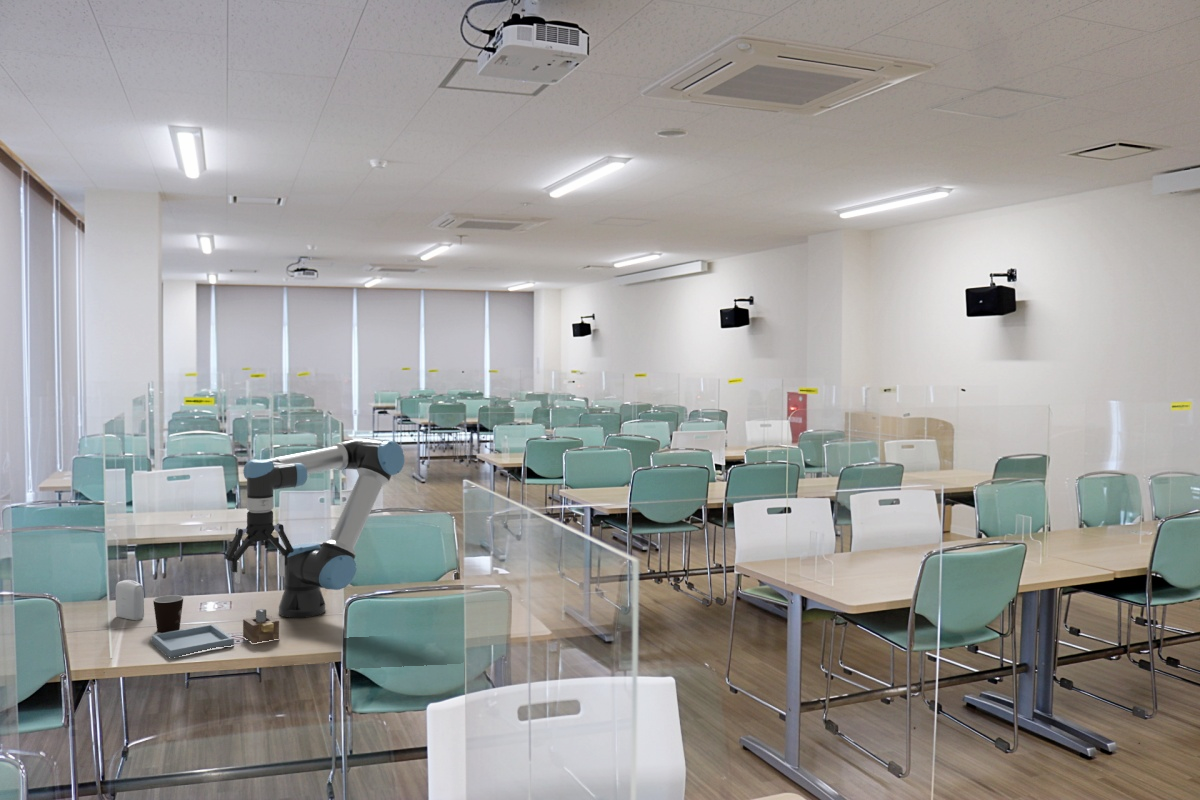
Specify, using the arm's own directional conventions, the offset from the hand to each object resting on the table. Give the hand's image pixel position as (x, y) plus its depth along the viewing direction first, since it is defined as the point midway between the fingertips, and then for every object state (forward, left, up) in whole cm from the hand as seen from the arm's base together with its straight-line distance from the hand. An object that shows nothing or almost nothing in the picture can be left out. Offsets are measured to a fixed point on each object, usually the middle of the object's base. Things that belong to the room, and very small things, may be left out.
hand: (259, 579), depth 282 cm
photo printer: (+25, -47, -19) cm, 56 cm away
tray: (+18, -7, -19) cm, 27 cm away
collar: (0, 0, -19) cm, 19 cm away
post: (0, 0, -19) cm, 19 cm away
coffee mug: (+18, -27, -19) cm, 37 cm away
